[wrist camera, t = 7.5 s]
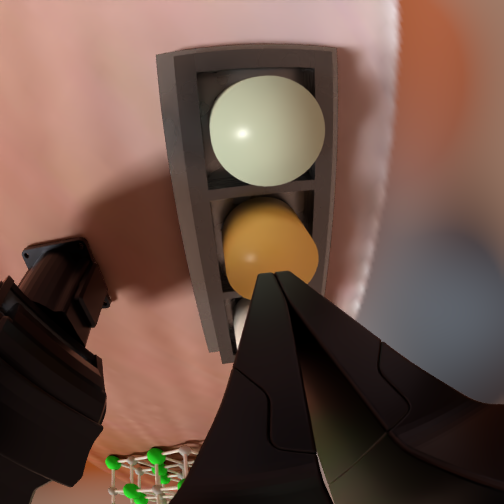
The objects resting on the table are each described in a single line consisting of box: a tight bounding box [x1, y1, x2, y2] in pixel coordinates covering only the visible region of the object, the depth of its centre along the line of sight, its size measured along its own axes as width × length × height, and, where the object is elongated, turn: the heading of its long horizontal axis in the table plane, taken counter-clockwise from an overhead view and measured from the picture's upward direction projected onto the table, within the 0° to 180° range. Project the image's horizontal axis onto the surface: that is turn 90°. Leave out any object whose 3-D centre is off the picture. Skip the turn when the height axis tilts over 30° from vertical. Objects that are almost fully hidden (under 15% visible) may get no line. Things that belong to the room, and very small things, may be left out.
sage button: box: [209, 75, 325, 186], centre depth 13 cm, size 5×5×4 cm
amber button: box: [222, 197, 319, 300], centre depth 17 cm, size 5×5×4 cm
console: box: [156, 44, 338, 364], centre depth 19 cm, size 10×23×3 cm, turn 3°
